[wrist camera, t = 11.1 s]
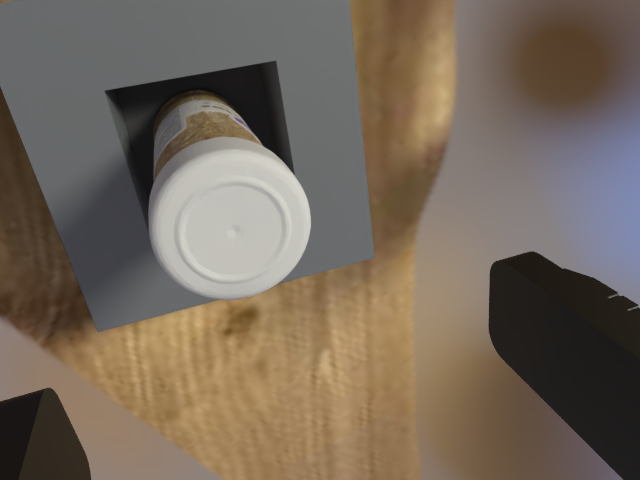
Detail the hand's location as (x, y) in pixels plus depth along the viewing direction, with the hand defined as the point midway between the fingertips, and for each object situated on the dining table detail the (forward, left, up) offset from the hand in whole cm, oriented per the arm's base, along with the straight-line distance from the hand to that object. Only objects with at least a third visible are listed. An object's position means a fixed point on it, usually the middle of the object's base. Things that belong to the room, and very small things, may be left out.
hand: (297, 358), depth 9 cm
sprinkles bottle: (0, 0, -19) cm, 19 cm away
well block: (0, 0, -20) cm, 20 cm away
